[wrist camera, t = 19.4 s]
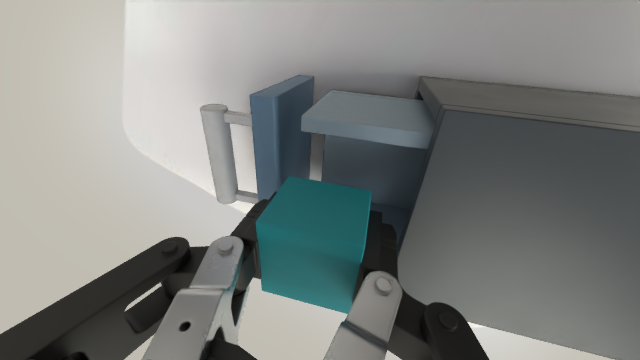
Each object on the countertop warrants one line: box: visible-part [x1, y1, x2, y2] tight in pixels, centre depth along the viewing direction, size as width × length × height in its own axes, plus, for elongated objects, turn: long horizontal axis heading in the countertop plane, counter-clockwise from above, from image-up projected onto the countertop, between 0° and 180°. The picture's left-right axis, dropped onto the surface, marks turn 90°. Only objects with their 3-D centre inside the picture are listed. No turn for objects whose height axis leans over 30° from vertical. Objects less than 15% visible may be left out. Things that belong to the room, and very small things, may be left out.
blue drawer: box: [200, 75, 436, 246], centre depth 17 cm, size 17×10×7 cm, turn 86°
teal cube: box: [256, 176, 372, 314], centre depth 11 cm, size 4×4×4 cm
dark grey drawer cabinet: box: [397, 76, 640, 360], centre depth 15 cm, size 14×12×9 cm
